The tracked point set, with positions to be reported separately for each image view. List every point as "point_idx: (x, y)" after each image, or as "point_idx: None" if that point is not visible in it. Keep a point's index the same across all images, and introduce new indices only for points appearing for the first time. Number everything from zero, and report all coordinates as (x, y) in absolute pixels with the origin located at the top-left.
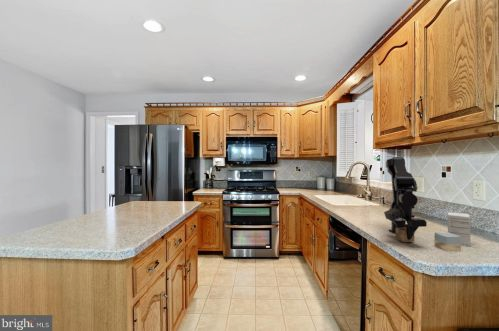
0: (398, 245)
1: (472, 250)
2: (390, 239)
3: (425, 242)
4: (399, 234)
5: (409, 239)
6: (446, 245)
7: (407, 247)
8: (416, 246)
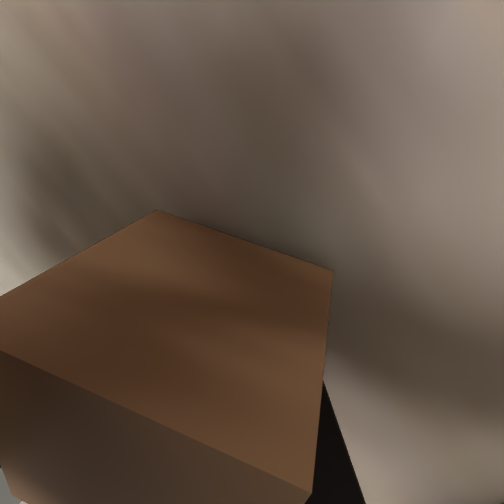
0: (103, 28)
1: None
2: (404, 205)
3: None
4: (195, 290)
5: None
6: None
7: (23, 91)
8: (60, 238)
